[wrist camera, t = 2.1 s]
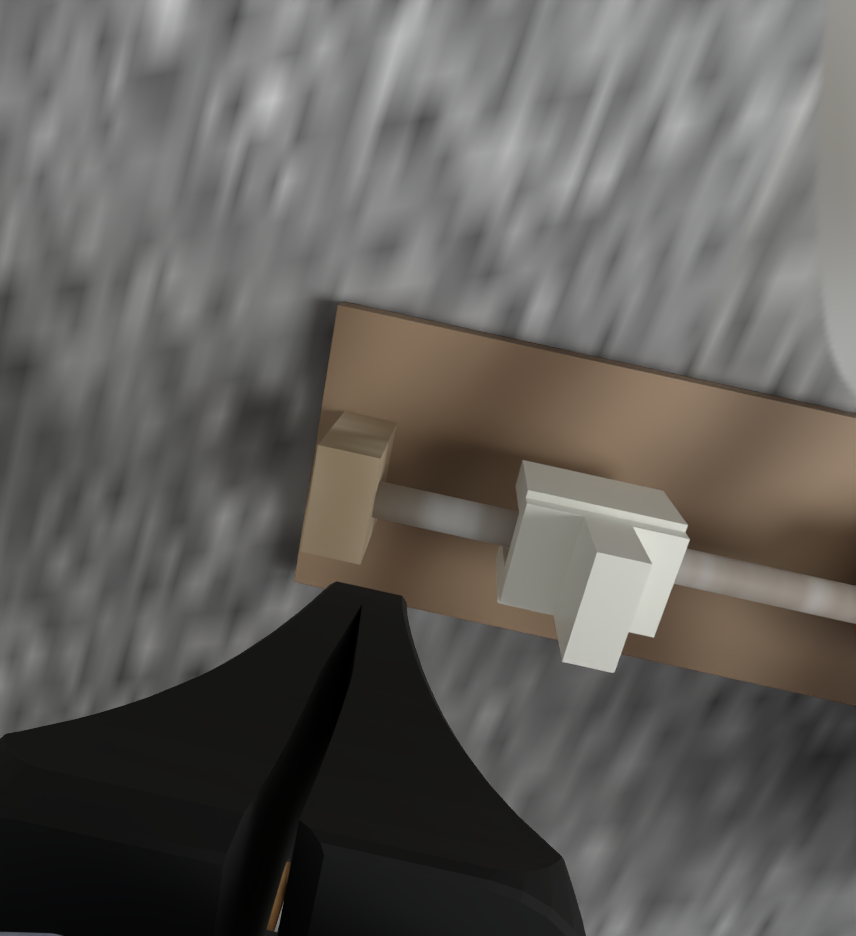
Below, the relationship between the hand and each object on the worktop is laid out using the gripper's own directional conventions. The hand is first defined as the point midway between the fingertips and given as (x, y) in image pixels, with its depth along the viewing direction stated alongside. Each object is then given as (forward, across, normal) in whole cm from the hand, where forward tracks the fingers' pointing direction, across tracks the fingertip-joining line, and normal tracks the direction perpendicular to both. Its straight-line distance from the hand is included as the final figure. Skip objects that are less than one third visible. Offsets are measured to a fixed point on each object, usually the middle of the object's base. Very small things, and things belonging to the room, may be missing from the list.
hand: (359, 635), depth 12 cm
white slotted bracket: (+8, -5, 0) cm, 9 cm away
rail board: (+10, -9, 0) cm, 13 cm away
